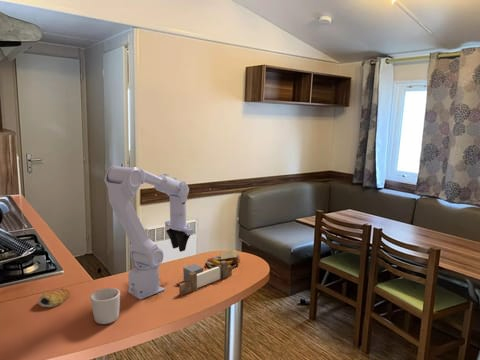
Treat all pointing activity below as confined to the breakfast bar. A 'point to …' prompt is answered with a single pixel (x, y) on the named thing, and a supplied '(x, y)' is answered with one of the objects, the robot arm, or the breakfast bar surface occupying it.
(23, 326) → the breakfast bar surface
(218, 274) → the door
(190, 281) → the stepped wooden block
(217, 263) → the toy sandwich meal
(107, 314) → the cup
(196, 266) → the grey cube
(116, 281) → the breakfast bar surface
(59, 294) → the pastry
